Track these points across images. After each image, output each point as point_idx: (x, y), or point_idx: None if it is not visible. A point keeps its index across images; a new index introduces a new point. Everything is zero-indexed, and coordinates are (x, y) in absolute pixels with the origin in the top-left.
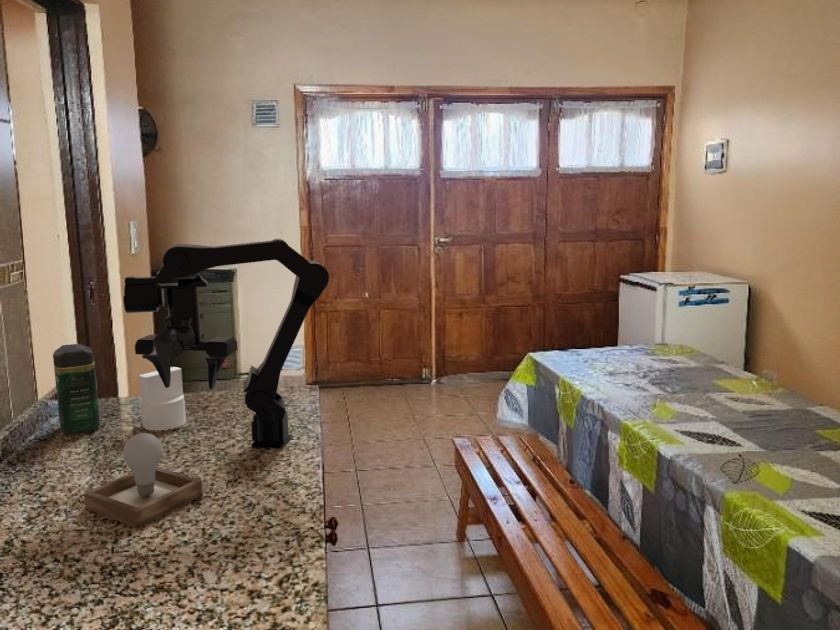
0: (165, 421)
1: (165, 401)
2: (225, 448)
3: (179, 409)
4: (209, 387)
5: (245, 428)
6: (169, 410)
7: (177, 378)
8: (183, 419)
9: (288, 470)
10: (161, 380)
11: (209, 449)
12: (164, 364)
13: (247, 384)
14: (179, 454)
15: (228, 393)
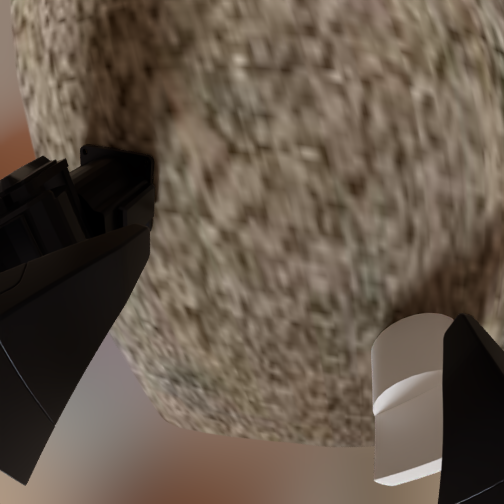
0: (420, 331)
1: (422, 385)
2: (225, 157)
3: (385, 366)
4: (139, 230)
5: (213, 291)
6: (412, 357)
7: (386, 454)
8: (376, 350)
9: (49, 28)
10: (432, 442)
11: (273, 155)
12: (497, 469)
13: (11, 260)
14: (361, 127)
15: (298, 439)
